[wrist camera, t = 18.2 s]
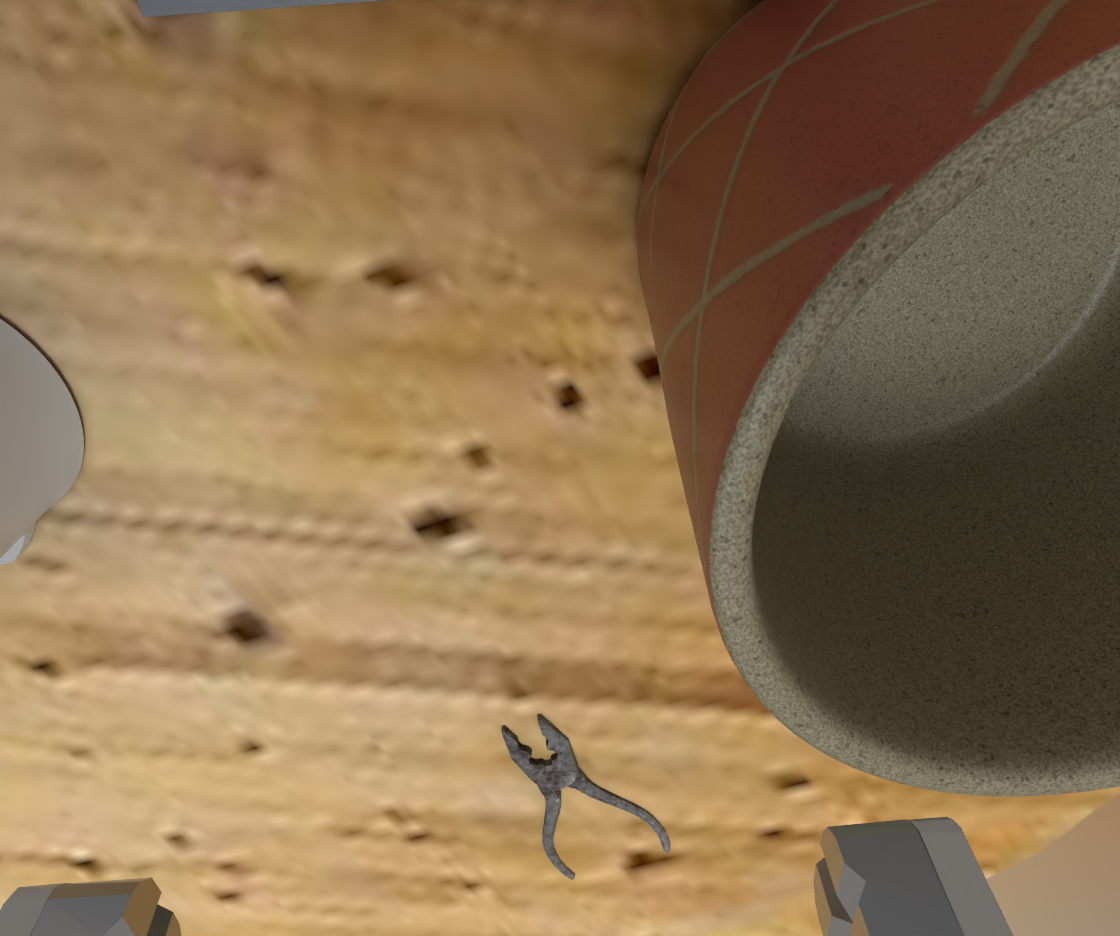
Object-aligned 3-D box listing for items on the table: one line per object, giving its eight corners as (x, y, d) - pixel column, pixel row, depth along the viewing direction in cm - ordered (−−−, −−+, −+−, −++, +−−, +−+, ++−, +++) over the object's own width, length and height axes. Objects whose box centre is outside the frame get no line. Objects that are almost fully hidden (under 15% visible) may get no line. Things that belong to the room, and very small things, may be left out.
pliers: (581, 891, 70) (425, 770, 60) (580, 881, 71) (426, 760, 61) (683, 848, 67) (538, 714, 58) (681, 838, 68) (537, 704, 58)
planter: (628, -89, 33) (796, -64, 13) (1196, -76, 34) (2110, -36, 15) (600, 419, 46) (666, 811, 26) (1015, 417, 47) (1374, 790, 27)
